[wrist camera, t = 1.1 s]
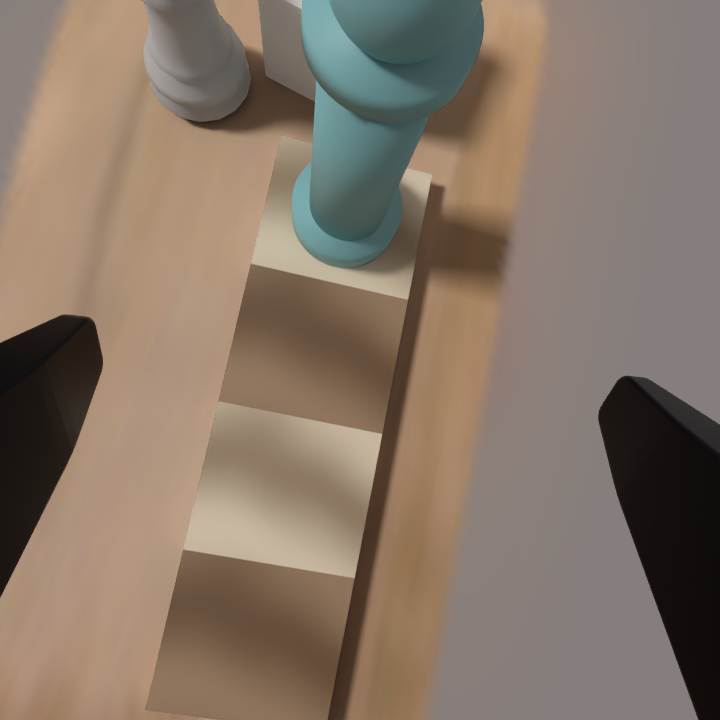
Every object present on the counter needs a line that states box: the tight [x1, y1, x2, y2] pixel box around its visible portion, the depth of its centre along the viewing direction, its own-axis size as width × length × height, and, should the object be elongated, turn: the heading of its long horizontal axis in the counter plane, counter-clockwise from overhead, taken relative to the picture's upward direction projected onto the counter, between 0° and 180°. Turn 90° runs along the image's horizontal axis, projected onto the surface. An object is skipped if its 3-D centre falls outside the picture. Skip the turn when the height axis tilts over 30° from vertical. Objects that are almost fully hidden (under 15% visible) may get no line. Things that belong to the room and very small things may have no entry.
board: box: [146, 136, 432, 720], centre depth 21 cm, size 24×7×1 cm, turn 169°
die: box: [258, 0, 316, 102], centre depth 21 cm, size 5×5×5 cm
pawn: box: [292, 0, 484, 268], centre depth 15 cm, size 5×5×14 cm
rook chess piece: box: [141, 0, 251, 122], centre depth 18 cm, size 4×4×8 cm
